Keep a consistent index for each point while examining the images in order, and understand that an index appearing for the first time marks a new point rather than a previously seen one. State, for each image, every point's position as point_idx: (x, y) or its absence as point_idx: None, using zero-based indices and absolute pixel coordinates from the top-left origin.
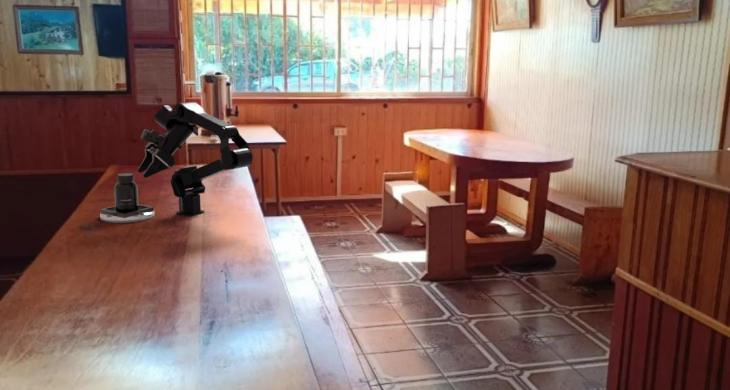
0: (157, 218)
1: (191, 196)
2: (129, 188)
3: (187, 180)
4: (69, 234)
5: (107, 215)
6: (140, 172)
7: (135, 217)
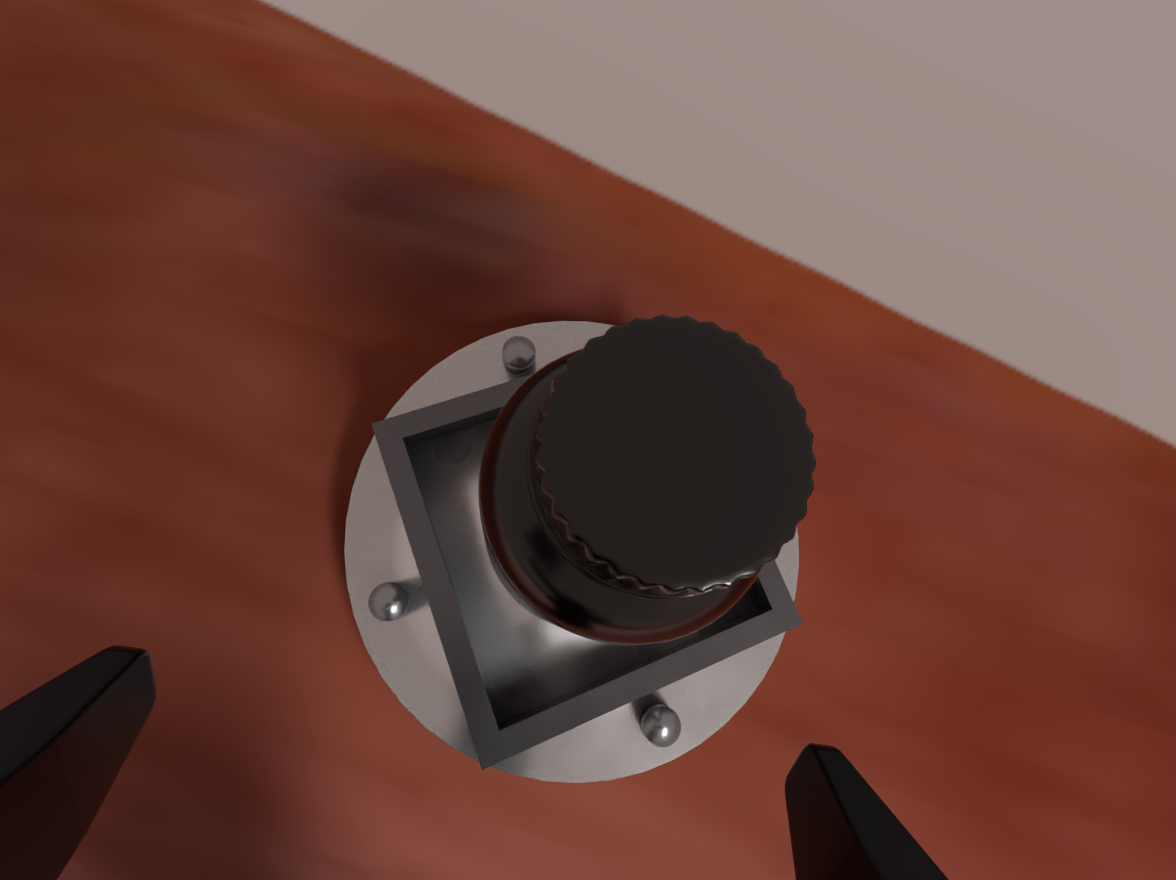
0: (351, 739)
1: None
2: (481, 483)
3: None
4: (332, 77)
5: (510, 340)
6: (788, 790)
7: (348, 522)
